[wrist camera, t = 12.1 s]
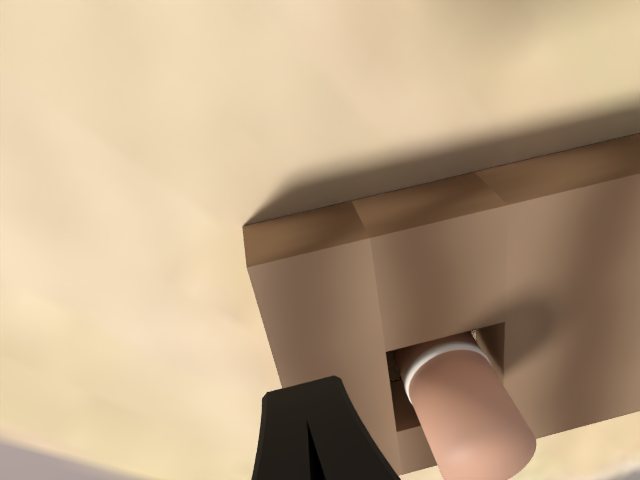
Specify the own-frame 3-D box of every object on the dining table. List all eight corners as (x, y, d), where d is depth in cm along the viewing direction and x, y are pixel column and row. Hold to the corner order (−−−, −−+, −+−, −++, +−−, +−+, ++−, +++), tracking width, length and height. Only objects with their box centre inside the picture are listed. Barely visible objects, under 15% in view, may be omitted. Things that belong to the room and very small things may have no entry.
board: (683, 123, 19) (742, 148, 17) (634, 362, 26) (672, 402, 23) (242, 226, 18) (246, 267, 16) (305, 447, 25) (314, 497, 23)
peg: (457, 291, 21) (534, 408, 16) (468, 348, 23) (541, 469, 18) (378, 319, 21) (430, 444, 16) (396, 374, 23) (448, 502, 18)
